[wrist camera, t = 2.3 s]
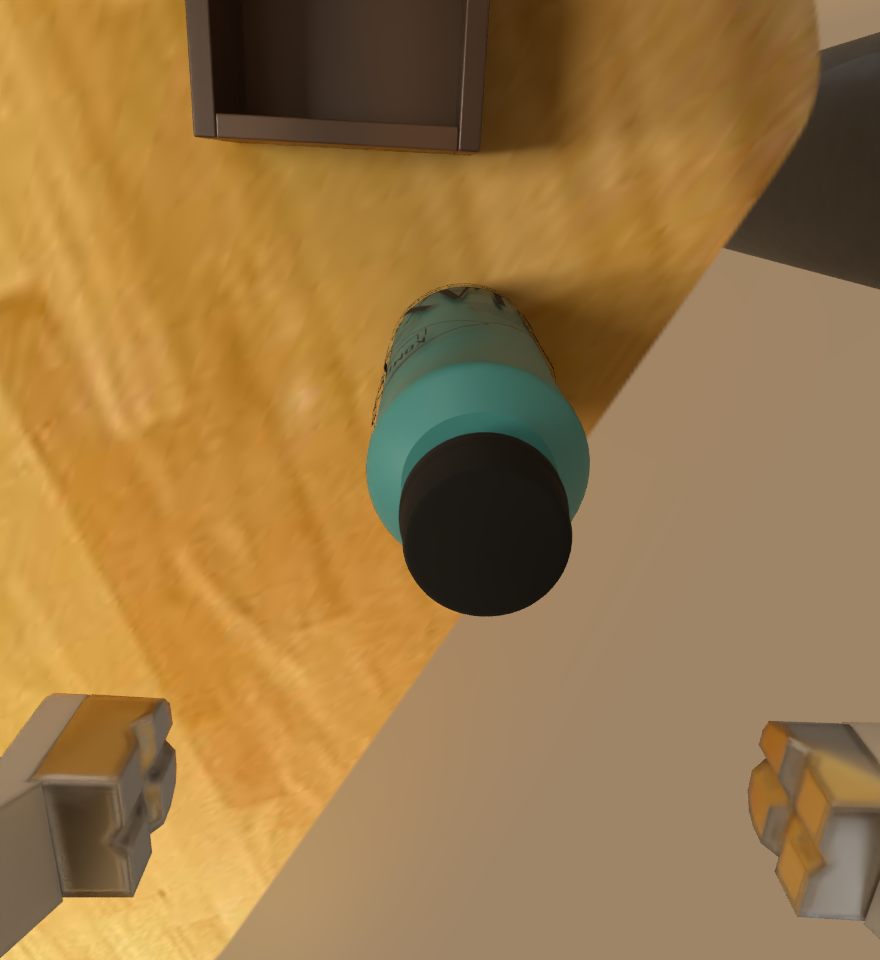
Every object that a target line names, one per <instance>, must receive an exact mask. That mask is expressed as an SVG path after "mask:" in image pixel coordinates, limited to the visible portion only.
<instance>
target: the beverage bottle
mask: <svg viewBox="0 0 880 960" xmlns="http://www.w3.org/2000/svg"><path fill="white" fill-rule="evenodd" d="M452 285H454V284H452ZM474 285H476V284H474ZM447 286H448V285H447ZM457 286H458V285H457ZM460 286H462V285H460ZM464 286H465V285H464ZM467 286H468V285H467ZM471 286H473V285H471ZM480 286H481V285H480ZM480 286H478V287H480ZM443 287H444V286H443ZM450 287H451V286H450ZM484 287H485V286H484ZM439 288H440V287H439ZM481 288H483V287H481ZM481 288H475V287H453V288H447V289H444V290H440V289H439V290H440V291H438V292H435V293H433V294H431V295H429V296H427V295H428V294H427V293H426V294H427V295H425V296H427V297H426V298H424V299H423V300H421V301H420V302H419V303H417V304H416V305H415V306H414V307H413V308H411V309H410V310H409V311H408V312H407V313H406V312H405V313H406V314H407V315H406V314H405V313H403V314H405V315H406V316H405V315H404V316H405V317H404V316H403V317H404V319H403V321H402V322H401V323H400V324H399V325H400V326H399V328H398V327H397V329H398V330H396V332H395V333H396V335H394V337H395V339H394V342H393V346H392V348H391V349H392V350H391V351H389V353H388V354H390V352H391V356H389V355H386V357H387V356H389V357H390V360H389V365H387V364H388V363H387V364H386V362H385V365H384V370H385V372H386V377H385V383H384V388H383V391H382V393H381V394H382V397H381V402H380V406H379V411H378V415H377V421H376V426H375V425H374V431H373V434H372V436H371V439H370V444H369V449H368V454H367V464H366V474H367V484H368V489H369V493H370V497H371V500H372V503H373V506H374V508H375V510H376V512H377V514H378V516H379V518H380V520H381V521H382V523H383V524H384V526H385V527H386V528H387V530H388V531H389V532H390V533H391V534H392V535H393V537H394V538H395V539H396V540H397V541H398V542H400V543H401V544H402V545H403V553H404V557H405V561H406V564H407V566H408V569H409V571H410V573H411V575H412V576H413V578H414V580H415V581H416V583H417V584H418V585H419V586H420V588H421V589H422V590H423V591H424V592H425V593H426V594H427V595H428V596H429V597H431V598H432V599H433V600H434V601H436V602H437V603H439V604H441V605H442V606H444V607H446V608H448V609H451V610H453V611H456V612H459V613H463V614H467V615H473V616H499V615H505V614H510V613H513V612H516V611H519V610H522V609H524V608H526V607H528V606H530V605H532V604H533V603H535V602H536V601H538V600H539V599H540V598H542V597H543V596H544V595H546V594H547V593H548V592H549V591H550V590H551V588H553V586H554V585H555V584H556V582H557V581H558V580H559V578H560V577H561V575H562V573H563V572H564V569H565V567H566V565H567V562H568V559H569V555H570V552H571V545H572V527H571V521H572V519H573V518H574V516H575V514H576V513H577V511H578V509H579V506H580V504H581V502H582V500H583V498H584V494H585V491H586V488H587V484H588V477H589V467H590V466H589V465H590V458H589V449H588V443H587V439H586V435H585V432H584V430H583V427H582V425H581V422H580V420H579V418H578V417H577V415H576V413H575V411H574V410H573V408H572V406H571V405H570V404H569V402H568V401H567V400H566V398H565V397H564V396H563V395H562V393H561V391H560V389H559V387H558V385H557V383H556V381H555V380H554V378H553V376H552V373H551V372H550V369H549V367H548V365H547V363H546V361H545V359H544V357H543V355H542V354H541V352H542V351H541V352H540V349H539V348H538V345H536V343H535V341H534V340H535V339H534V338H533V337H532V336H531V334H530V332H529V330H528V329H527V326H526V325H525V323H524V321H523V320H522V318H521V316H520V315H519V314H520V313H519V311H518V310H517V311H518V312H517V311H516V310H515V309H514V308H513V307H512V306H511V305H510V304H509V303H508V302H507V301H505V300H504V299H503V298H504V297H503V298H502V296H500V295H501V294H500V295H498V294H499V293H498V294H496V293H494V292H495V291H496V290H495V291H494V292H491V291H490V292H489V291H488V290H484V289H481ZM437 289H438V288H437ZM485 289H488V288H485ZM490 289H491V288H490ZM490 289H489V290H490ZM432 291H433V290H432ZM436 291H437V290H436ZM497 292H498V291H497ZM428 293H429V292H428ZM431 293H432V292H431ZM429 294H430V293H429ZM504 296H505V295H504ZM421 297H422V296H421ZM422 298H423V297H422ZM505 298H506V297H505ZM417 300H418V299H417ZM419 300H420V299H419ZM419 300H418V301H419ZM508 300H509V298H508ZM414 304H415V303H414ZM414 304H413V305H414ZM411 305H412V304H411ZM411 305H410V306H411ZM413 305H412V306H413ZM410 306H409V307H410ZM409 307H408V308H409ZM408 308H407V309H408ZM518 313H519V314H518ZM521 313H522V312H521ZM523 316H524V317H525V315H523ZM400 318H402V317H400ZM525 319H526V318H525ZM526 321H527V319H526ZM527 323H528V324H529V322H528V321H527ZM529 326H530V324H529ZM530 327H531V326H530ZM528 328H529V327H528ZM529 329H530V328H529ZM394 330H395V329H394ZM394 330H393V332H394ZM531 330H533V329H532V327H531ZM534 333H535V332H533V336H534ZM535 338H536V337H535ZM390 340H391V339H390ZM392 340H393V338H392ZM536 340H537V339H536ZM538 340H539V339H538ZM537 342H538V341H537ZM389 344H390V343H389ZM539 345H540V344H539ZM540 347H541V346H540ZM388 348H389V347H388ZM542 348H543V347H542ZM542 348H541V349H542ZM542 350H543V349H542ZM387 352H388V351H387ZM543 352H544V351H543ZM544 354H545V353H544ZM545 356H546V355H545ZM546 357H547V356H546ZM387 359H388V358H387ZM547 359H548V358H547ZM385 361H386V359H385ZM548 361H549V360H548ZM550 364H551V363H550ZM551 366H552V365H551ZM552 368H553V367H552ZM553 369H554V368H553ZM554 374H555V373H554ZM384 376H385V375H383V377H382V378H384ZM381 381H382V379H381ZM383 382H384V379H383V381H382V382H381V383H382V384H383ZM382 384H381V385H382ZM379 386H380V385H379ZM380 388H381V387H380ZM378 390H379V388H378ZM378 393H379V391H378ZM378 393H377V394H378ZM381 394H380V395H381ZM377 397H378V396H377ZM377 397H376V398H377ZM379 397H380V396H379ZM378 399H379V398H378ZM376 400H377V399H376ZM377 401H378V400H377ZM375 402H376V401H375ZM374 406H375V407H374V409H375V408H376V405H374ZM373 412H374V410H373ZM373 416H374V414H373ZM375 417H376V415H375ZM371 420H372V419H371ZM374 420H375V418H374ZM373 424H375V423H373V420H372V425H373Z"/></svg>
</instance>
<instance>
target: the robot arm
mask: <svg viewBox="0 0 880 960" xmlns="http://www.w3.org/2000/svg"><path fill="white" fill-rule="evenodd" d="M172 724H173V723H172V716H171V709H170V703H169V702H168V701H167V700H165V699H161V698H144V697H127V696H110V695H93V694H92V695H85V694H65V693H54V694H52V695H49V696H47V697H46V698H45V699H44V700H43V701H42V702H41V704H40V705H39V706H38V708H37V709H36V710H35V712H34V713H33V714H32V716H31V717H30V718H29V720H28V721H27V722H26V724H25V725H24V726H23V728H22V729H21V730H20V732H19V733H18V734H17V736H16V737H15V738H14V740H13V741H12V743H11V744H10V745H9V747H8V748H7V749H6V751H5V752H4V753H3V755H2V756H1V757H0V958H1V957H2V956H3V955H4V954H5V953H6V952H8V951H9V950H10V949H11V948H12V947H13V946H14V945H15V944H16V943H17V942H19V941H20V940H21V939H22V938H23V937H24V936H25V935H26V934H27V933H28V932H30V931H31V930H32V929H33V928H34V927H35V926H36V925H37V924H38V923H40V922H41V921H42V920H43V919H44V918H45V917H46V916H47V915H48V914H49V913H51V912H52V911H53V910H54V909H55V908H56V907H57V906H58V905H59V904H60V903H62V902H63V899H62V897H133V896H134V894H135V892H136V889H137V887H138V884H139V882H140V880H141V877H142V875H143V872H144V870H145V868H146V865H147V863H148V861H149V858H150V856H151V853H152V848H151V839H150V834H151V833H152V832H154V831H155V830H156V829H158V828H159V827H160V826H162V825H163V824H164V822H165V819H166V817H167V814H168V812H169V809H170V806H171V802H172V798H173V793H174V788H175V784H176V754H175V750H174V749H173V748H172V746H171V745H170V744H169V743H168V742H167V741H166V740H165V739H166V737H167V735H168V733H169V730H170V728H171V726H172ZM759 746H760V748H761V750H762V751H763V753H764V755H765V757H766V759H764V760H763V761H762V762H761V763H760V764H759V765H758V766H757V767H755V768H754V769H753V770H752V773H751V777H750V783H749V787H748V803H749V813H750V817H751V820H752V824H753V827H754V829H755V831H756V834H757V836H758V838H759V840H760V842H761V843H762V844H763V845H764V846H765V847H767V848H768V849H769V850H771V851H772V852H773V853H774V854H775V855H777V856H778V857H779V858H778V862H777V865H776V869H775V873H776V875H777V877H778V879H779V881H780V883H781V885H782V887H783V889H784V891H785V893H786V896H787V898H788V899H789V902H790V904H791V906H792V908H793V910H794V912H795V914H796V916H797V917H808V918H825V919H841V920H858V921H859V920H861V921H865V922H864V925H865V926H866V927H867V928H868V929H869V930H871V931H872V932H873V933H874V934H875V935H876V936H877V937H878V938H879V939H880V723H860V722H842V723H841V724H839V723H814V722H781V721H780V722H779V721H769V722H768V723H767V725H766V726H765V728H764V729H763V731H762V735H761V738H760V742H759Z"/></svg>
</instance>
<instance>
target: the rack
mask: <svg viewBox="0 0 880 960" xmlns="http://www.w3.org/2000/svg"><path fill="white" fill-rule="evenodd" d="M185 5H186V20H187V36H188V52H189V67H190V83H191V99H192V114H193V130H194V136H195V137H200V138H207V139H214V140H221V141H228V142H239V143H257V144H275V145H293V146H311V147H329V148H347V149H365V150H383V151H401V152H419V153H437V154H455V155H472V154H475V153H477V152H479V151H480V146H481V130H482V115H483V99H484V84H485V68H486V53H487V37H488V22H489V7H490V0H185Z"/></svg>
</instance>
